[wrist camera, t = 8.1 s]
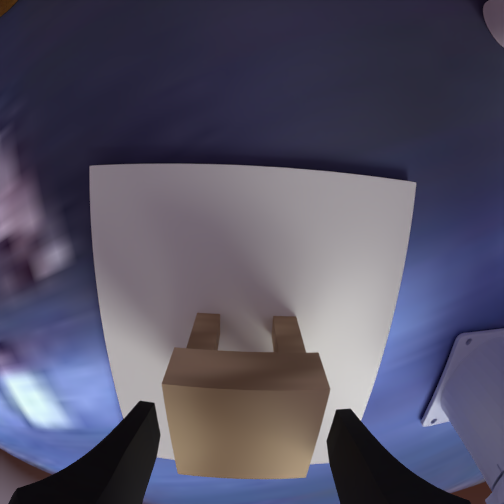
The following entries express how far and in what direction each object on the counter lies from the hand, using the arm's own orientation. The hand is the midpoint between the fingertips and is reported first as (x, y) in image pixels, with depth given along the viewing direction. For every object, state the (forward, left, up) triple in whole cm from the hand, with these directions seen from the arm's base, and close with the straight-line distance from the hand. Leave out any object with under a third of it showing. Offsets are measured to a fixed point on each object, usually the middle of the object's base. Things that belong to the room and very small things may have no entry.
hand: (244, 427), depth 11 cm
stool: (0, 0, -5) cm, 5 cm away
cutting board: (0, 0, -6) cm, 6 cm away
